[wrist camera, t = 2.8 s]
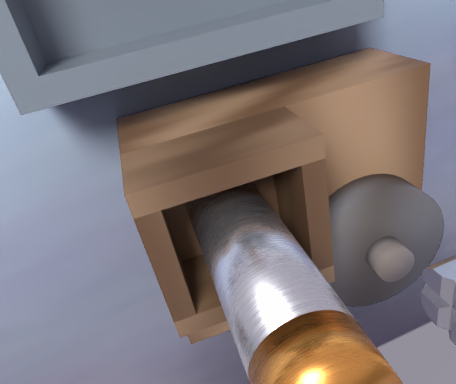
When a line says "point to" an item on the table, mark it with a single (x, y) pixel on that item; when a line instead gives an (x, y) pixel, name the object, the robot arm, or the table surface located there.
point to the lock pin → (279, 297)
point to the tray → (146, 39)
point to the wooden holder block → (291, 176)
